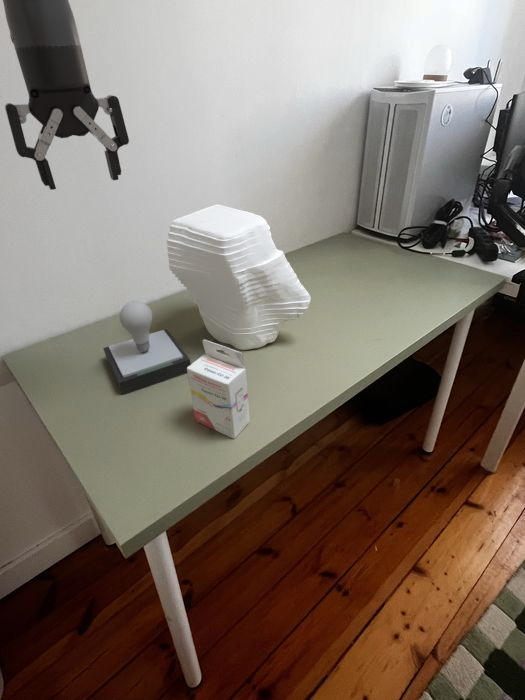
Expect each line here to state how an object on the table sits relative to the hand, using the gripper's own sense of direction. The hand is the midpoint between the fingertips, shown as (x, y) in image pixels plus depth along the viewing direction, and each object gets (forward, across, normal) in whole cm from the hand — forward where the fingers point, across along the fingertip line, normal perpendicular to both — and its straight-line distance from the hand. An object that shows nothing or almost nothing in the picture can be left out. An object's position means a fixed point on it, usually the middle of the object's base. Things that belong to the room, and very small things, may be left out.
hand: (84, 183), depth 61 cm
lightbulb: (+35, +4, +8) cm, 36 cm away
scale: (+38, +4, +8) cm, 39 cm away
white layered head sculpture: (+38, +25, +8) cm, 46 cm away
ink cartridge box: (+38, +10, -16) cm, 43 cm away
